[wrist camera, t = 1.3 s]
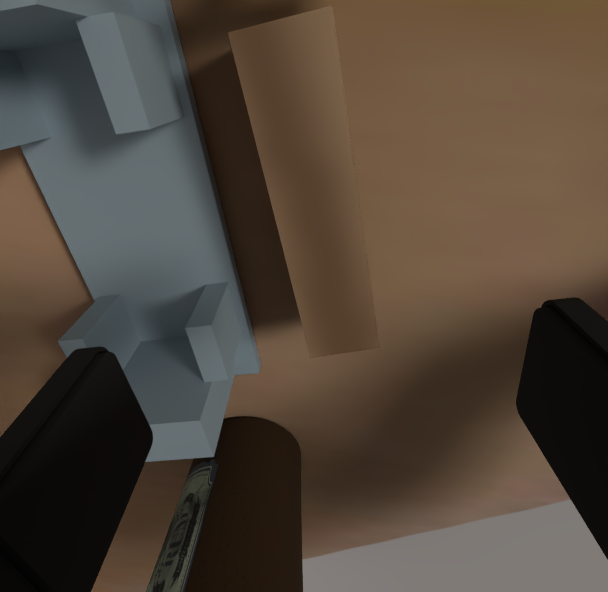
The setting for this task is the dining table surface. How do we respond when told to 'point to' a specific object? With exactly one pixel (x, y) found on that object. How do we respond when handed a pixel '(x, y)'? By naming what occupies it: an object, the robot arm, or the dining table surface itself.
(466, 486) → the dining table surface
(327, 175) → the rail
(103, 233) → the grey bracket base
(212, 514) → the olive oil
